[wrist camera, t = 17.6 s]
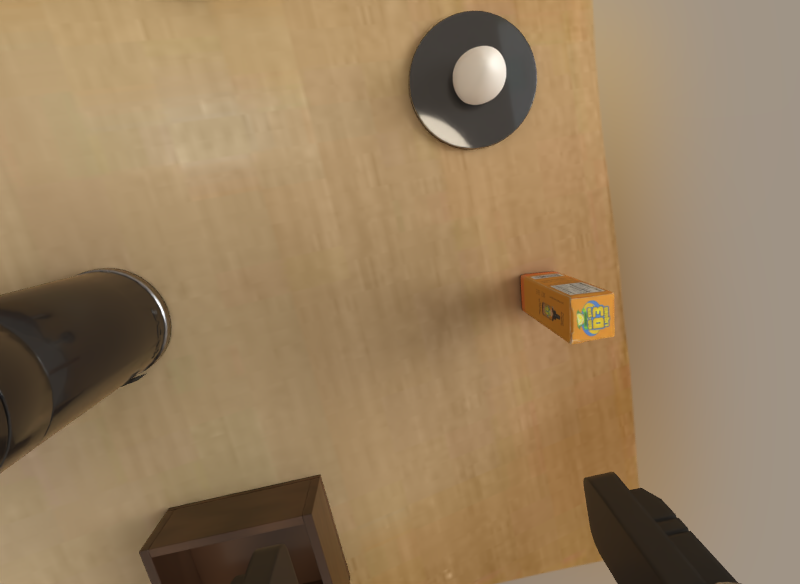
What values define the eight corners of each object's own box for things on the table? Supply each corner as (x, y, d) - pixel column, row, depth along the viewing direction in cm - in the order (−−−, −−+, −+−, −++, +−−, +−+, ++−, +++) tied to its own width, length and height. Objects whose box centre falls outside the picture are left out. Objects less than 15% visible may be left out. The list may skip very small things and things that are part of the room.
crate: (206, 608, 45) (183, 663, 40) (168, 508, 43) (138, 552, 37) (350, 577, 45) (345, 627, 40) (320, 474, 43) (311, 513, 37)
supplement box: (559, 306, 40) (616, 341, 30) (521, 310, 40) (565, 347, 30) (558, 268, 39) (616, 292, 30) (519, 272, 39) (564, 298, 30)
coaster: (403, 142, 37) (403, 141, 36) (415, 6, 35) (416, 3, 34) (524, 155, 37) (526, 154, 37) (544, 21, 35) (546, 18, 35)
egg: (503, 100, 36) (524, 83, 30) (456, 114, 36) (469, 99, 31) (491, 50, 35) (511, 23, 30) (444, 64, 35) (455, 40, 30)
